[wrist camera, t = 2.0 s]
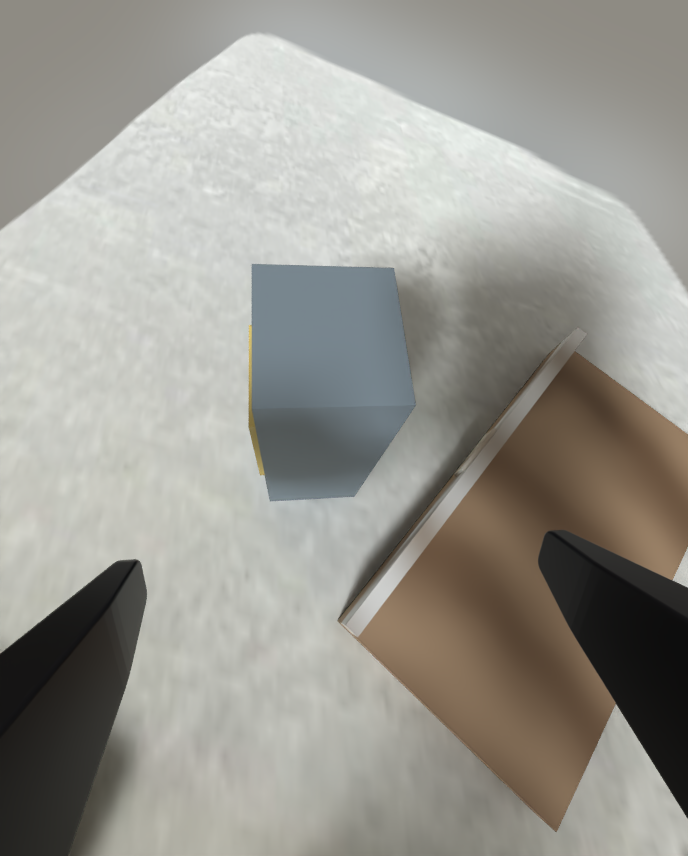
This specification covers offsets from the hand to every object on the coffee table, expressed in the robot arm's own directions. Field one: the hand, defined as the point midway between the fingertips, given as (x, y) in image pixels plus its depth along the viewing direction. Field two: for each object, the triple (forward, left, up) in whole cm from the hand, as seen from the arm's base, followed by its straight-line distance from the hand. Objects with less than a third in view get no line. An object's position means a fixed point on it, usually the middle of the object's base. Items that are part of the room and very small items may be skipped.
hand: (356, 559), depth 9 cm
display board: (+13, -2, -13) cm, 18 cm away
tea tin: (+2, +6, -13) cm, 15 cm away
